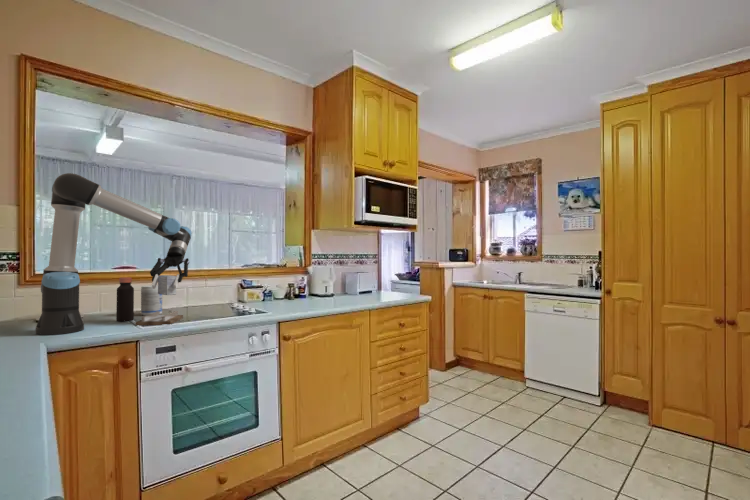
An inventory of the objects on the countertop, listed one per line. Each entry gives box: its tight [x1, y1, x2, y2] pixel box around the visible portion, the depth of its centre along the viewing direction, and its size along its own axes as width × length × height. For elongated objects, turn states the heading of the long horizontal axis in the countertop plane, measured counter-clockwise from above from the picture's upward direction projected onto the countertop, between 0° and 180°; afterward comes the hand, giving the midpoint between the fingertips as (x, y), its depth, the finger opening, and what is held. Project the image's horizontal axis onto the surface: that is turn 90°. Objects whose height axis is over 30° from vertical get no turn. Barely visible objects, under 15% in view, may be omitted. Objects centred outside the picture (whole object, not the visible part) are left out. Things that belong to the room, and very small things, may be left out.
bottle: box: [115, 277, 135, 323], centre depth 180 cm, size 7×7×20 cm
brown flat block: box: [135, 310, 184, 327], centre depth 178 cm, size 14×18×4 cm
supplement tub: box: [140, 285, 163, 317], centre depth 199 cm, size 10×10×15 cm
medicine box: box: [157, 274, 177, 296], centre depth 178 cm, size 8×4×9 cm, turn 56°
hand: (164, 286), depth 175 cm, fingers closed on medicine box, 8 cm apart
